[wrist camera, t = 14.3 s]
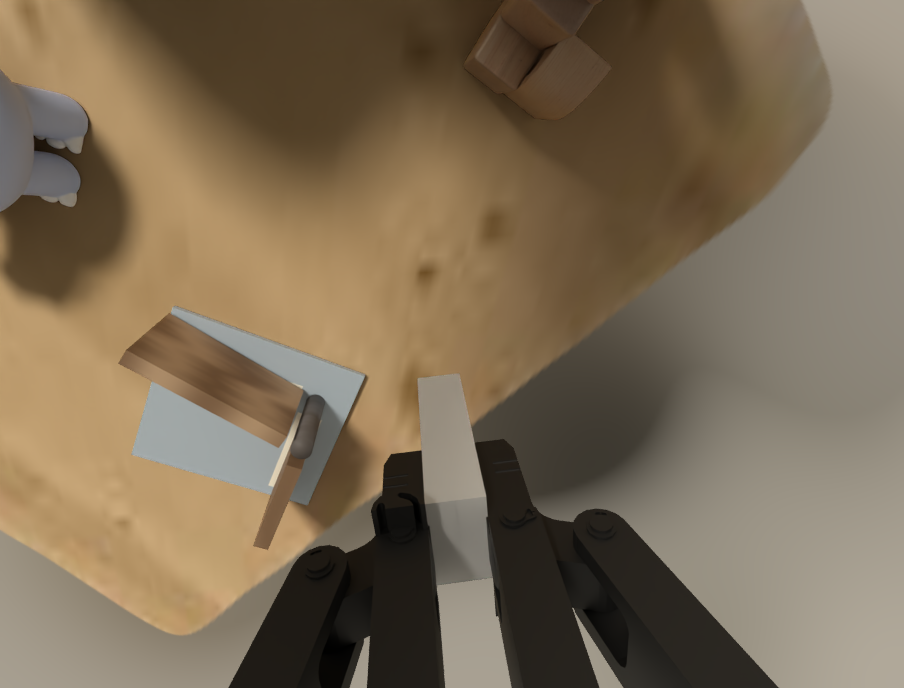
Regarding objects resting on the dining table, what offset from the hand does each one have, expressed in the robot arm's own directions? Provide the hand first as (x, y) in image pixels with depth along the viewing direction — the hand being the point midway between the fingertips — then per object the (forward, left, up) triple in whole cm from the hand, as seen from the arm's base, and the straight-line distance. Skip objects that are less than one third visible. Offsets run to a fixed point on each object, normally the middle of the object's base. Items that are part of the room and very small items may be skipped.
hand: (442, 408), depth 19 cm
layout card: (-8, -20, -24) cm, 32 cm away
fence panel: (-10, -14, -24) cm, 30 cm away
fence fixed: (-3, -21, -24) cm, 32 cm away
